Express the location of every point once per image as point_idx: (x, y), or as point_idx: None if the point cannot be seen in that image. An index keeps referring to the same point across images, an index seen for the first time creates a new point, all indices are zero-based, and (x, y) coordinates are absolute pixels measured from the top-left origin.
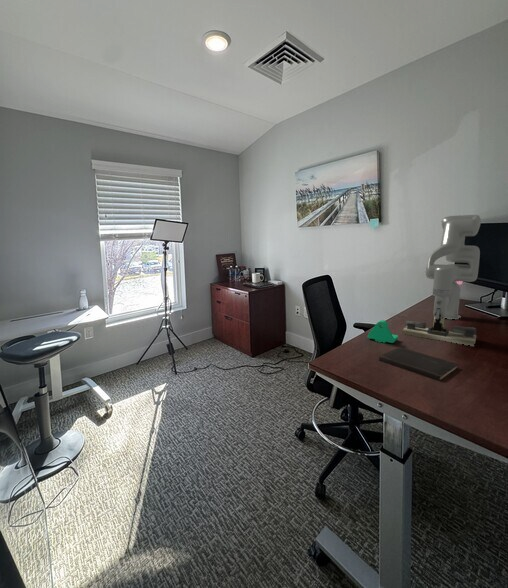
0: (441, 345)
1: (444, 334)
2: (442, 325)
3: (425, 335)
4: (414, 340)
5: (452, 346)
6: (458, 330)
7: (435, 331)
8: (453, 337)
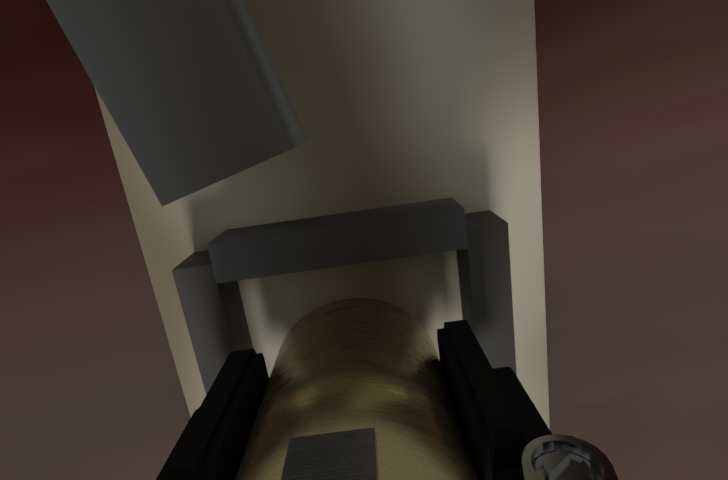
0: (723, 167)
1: (500, 231)
2: (410, 374)
3: None
4: (699, 460)
5: (685, 33)
6: (254, 42)
7: None
8: (454, 88)
